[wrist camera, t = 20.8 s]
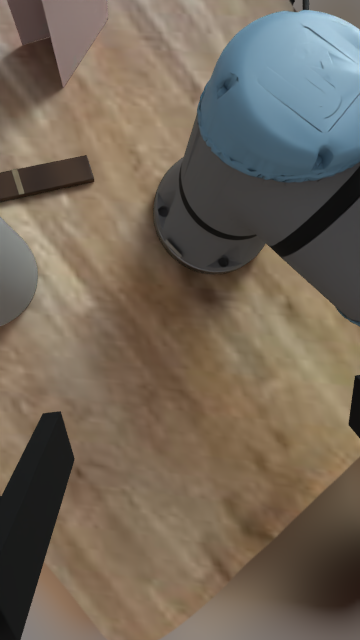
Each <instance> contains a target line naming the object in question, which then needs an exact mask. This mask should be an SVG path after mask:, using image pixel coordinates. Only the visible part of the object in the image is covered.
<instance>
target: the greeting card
mask: <svg viewBox="0 0 360 640" xmlns="http://www.w3.org/2000/svg"><path fill="white" fill-rule="evenodd" d="M7 1H8V4H9V7H10V10H11V13H12V16H13V19H14V22H15V25H16V28H17V30H18V33H19V36H20V39H21V42H22V45H25V44H28V43H31V42H34V41H38V40H41V39H44V38H47V37H51V41H52V45H53V49H54V53H55V57H56V61H57V66H58V70H59V74H60V78H61V82H62V86H63V88H64V86H65V85H66V83H67V82H68V80H69V79H70V77H71V75H72V74H73V72H74V71H75V69H76V68H77V66H78V65H79V63H80V61H81V60H82V58H83V57H84V55H85V54H86V52H87V51H88V49H89V48H90V46H91V44H92V43H93V41H94V40H95V38H96V37H97V35H98V34H99V32H100V31H101V29H102V27H103V26H104V24H105V23H106V21H107V20H108V6H107V0H7Z"/></svg>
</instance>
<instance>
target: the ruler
mask: <svg viewBox="0 0 360 640" xmlns="http://www.w3.org/2000/svg"><path fill="white" fill-rule="evenodd" d="M90 182H94V177H93V174H92V171H91V168H90V164H89V161H88V158H87V155H85V156H80V157H75V158H70V159H65V160H61V161H56V162H51V163H46V164H41V165H36V166H31V167H26V168H21V169H14V170H11V171H6V172H1V173H0V202H3V201H7V200H12V199H16V198H21V197H26V196H30V195H35V194H39V193H44V192H48V191H53V190H58V189H62V188H67V187H71V186H76V185H80V184H85V183H90Z"/></svg>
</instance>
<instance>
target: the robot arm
mask: <svg viewBox="0 0 360 640" xmlns="http://www.w3.org/2000/svg"><path fill="white" fill-rule="evenodd" d="M289 1H290V3H291V4H292V6H293V4H294V2H295V0H289ZM153 217H154V224H155V228H156V232H157V234H158V237H159V239H160V241H161V243H162V244H163V246H164V248H165V249H166V250H167V252H168V253H169V254H170V255H171V256H172V257H173V258H174V259H175V260H177V261H178V262H179V263H180V264H182V265H184V266H185V267H187V268H189V269H191V270H194V271H197V272H201V273H206V274H222V273H227V272H231V271H234V270H236V269H238V268H240V267H242V266H243V265H245V264H247V263H248V262H250V261H251V260H252V259H253V258H254V257H255V256H257V254H258V253H259V252H260V251H261V249H262V248H263V247H264V245H265V243H266V244H267V245H268V246H269V247H271V248H272V249H273V250H274V251H275V252H276V253H277V254H278V255H279V256H280V257H281V258H282V259H283V260H284V261H286V262H287V263H288V264H289V265H290V266H291V267H292V268H293V269H294V270H296V271H297V272H298V273H299V274H300V275H301V276H302V277H303V278H304V279H306V280H307V281H308V282H309V283H310V284H311V285H312V286H313V287H314V288H316V289H317V290H318V291H319V292H320V293H321V294H322V295H323V296H324V297H325V298H327V299H328V300H329V301H330V302H331V303H332V304H333V305H334V306H335V307H336V309H337V310H338V311H339V313H340V314H341V315H342V316H343V317H344V318H346V319H348V320H349V321H350V322H352V323H354V324H356V325H358V326H359V327H360V30H359V29H358V28H356V27H355V26H353V25H352V24H350V23H348V22H347V21H345V20H343V19H340V18H338V17H335V16H333V15H330V14H326V13H322V12H317V11H311V10H309V0H303V10H302V11H300V12H290V11H280V12H276V13H272V14H269V15H267V16H264V17H262V18H259V19H257V20H256V21H254V22H252V23H250V24H249V25H247V26H246V27H245V28H243V29H242V30H241V31H239V32H238V33H237V34H236V35H235V36H234V37H233V39H232V40H231V41H230V42H229V43H228V44H227V46H226V47H225V49H224V50H223V52H222V54H221V55H220V57H219V59H218V61H217V63H216V66H215V68H214V71H213V73H212V76H211V78H210V80H209V82H208V83H207V84H206V86H205V88H204V91H203V93H202V95H201V97H200V102H199V104H198V108H197V116H196V119H195V122H194V125H193V129H192V132H191V135H190V138H189V142H188V145H187V148H186V151H185V155H184V157H183V158H181V159H180V160H179V161H178V162H176V163H175V164H174V165H173V166H172V167H171V168H170V169H169V170H168V172H167V173H166V174H165V175H164V177H163V179H162V180H161V182H160V184H159V186H158V189H157V192H156V196H155V201H154V208H153ZM349 426H350V427H351V428H352V429H353V431H354V432H355V433H356V434H357V436H358V437H359V438H360V375H357V376H355V380H354V388H353V395H352V403H351V410H350V418H349ZM73 463H74V455H73V452H72V449H71V445H70V442H69V438H68V435H67V431H66V428H65V424H64V421H63V418H62V414H61V411H59V412H51V413H43V414H42V416H41V418H40V420H39V422H38V424H37V426H36V428H35V430H34V432H33V434H32V436H31V438H30V440H29V442H28V444H27V446H26V448H25V450H24V452H23V454H22V456H21V458H20V460H19V462H18V464H17V466H16V468H15V470H14V472H13V474H12V476H11V478H10V480H9V482H8V484H7V486H6V488H5V490H4V492H3V494H2V496H0V640H20V639H21V636H22V633H23V629H24V626H25V623H26V619H27V616H28V613H29V609H30V606H31V603H32V599H33V596H34V593H35V589H36V586H37V583H38V579H39V576H40V573H41V569H42V566H43V563H44V559H45V556H46V553H47V549H48V546H49V543H50V539H51V536H52V533H53V529H54V526H55V523H56V519H57V516H58V513H59V509H60V506H61V503H62V499H63V496H64V493H65V489H66V486H67V483H68V479H69V476H70V473H71V469H72V466H73Z"/></svg>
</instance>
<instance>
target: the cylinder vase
mask: <svg viewBox="0 0 360 640" xmlns="http://www.w3.org/2000/svg"><path fill="white" fill-rule="evenodd" d="M37 280H38V271H37V264H36V261H35V258H34V255H33V253H32V251H31V249H30V248H29V246H28V245H27V244H26V242H25V241H24V240H23V239H22V238H21V237H20V236H19V235H18V234H17V233H16V232H15V231H14V230H13V229H12V228H11V227H10V226H9V225H8V224H7V223H6V222H5V221H4V220H3V219H2V218H1V217H0V326H2V325H4V324H7V323H8V322H10V321H12V320H13V319H15V318H16V317H17V316H19V315H20V314H21V313H22V312H23V311H24V310H25V309H26V307H27V306H28V305H29V303H30V302H31V300H32V298H33V296H34V293H35V290H36V287H37Z"/></svg>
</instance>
